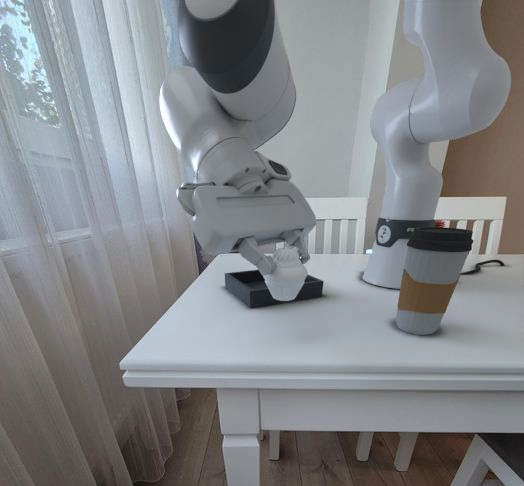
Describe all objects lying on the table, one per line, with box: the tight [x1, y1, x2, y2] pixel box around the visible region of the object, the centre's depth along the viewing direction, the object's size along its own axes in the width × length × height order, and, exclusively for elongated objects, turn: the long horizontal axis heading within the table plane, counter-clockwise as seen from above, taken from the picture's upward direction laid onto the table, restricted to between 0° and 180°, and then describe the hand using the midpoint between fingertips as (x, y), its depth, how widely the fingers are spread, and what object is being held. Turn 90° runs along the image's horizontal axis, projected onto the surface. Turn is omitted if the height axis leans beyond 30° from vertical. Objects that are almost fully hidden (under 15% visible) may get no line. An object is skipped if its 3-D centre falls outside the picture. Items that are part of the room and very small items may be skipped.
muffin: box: [263, 246, 309, 302], centre depth 40 cm, size 6×6×7 cm
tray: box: [224, 269, 324, 308], centre depth 64 cm, size 17×15×3 cm
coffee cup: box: [395, 226, 475, 336], centre depth 45 cm, size 8×8×15 cm
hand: (288, 266), depth 39 cm, fingers closed on muffin, 6 cm apart
